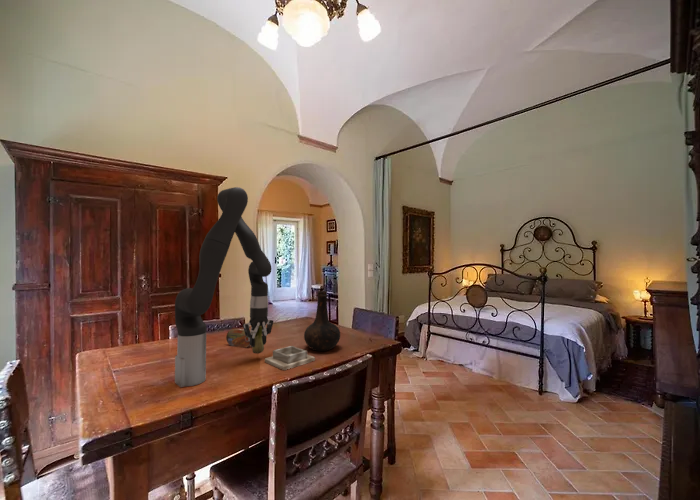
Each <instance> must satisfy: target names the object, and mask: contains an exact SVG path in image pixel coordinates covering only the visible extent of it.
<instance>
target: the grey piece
mask: <svg viewBox="0 0 700 500" xmlns="http://www.w3.org/2000/svg"><path fill="white" fill-rule="evenodd" d="M312 361H313V362H315V361H316V357H315V356H313V355H311V354H308V350H307V349H306V350H305V349H302V348H301V347H298V346H297V347H296V346H294V345H289V346H285V347H281V348H278V349H274V350H272V356H269V357H266V358H264V363H266V364H268V365H270V366H272V367H275V368H277V369H279V370H281V369H282V371H283V370H284V371H287V369H288V370H291V369H293V368H297V367H300V366H303V365H306V364H310V363H312ZM290 368H291V369H290Z"/></svg>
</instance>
